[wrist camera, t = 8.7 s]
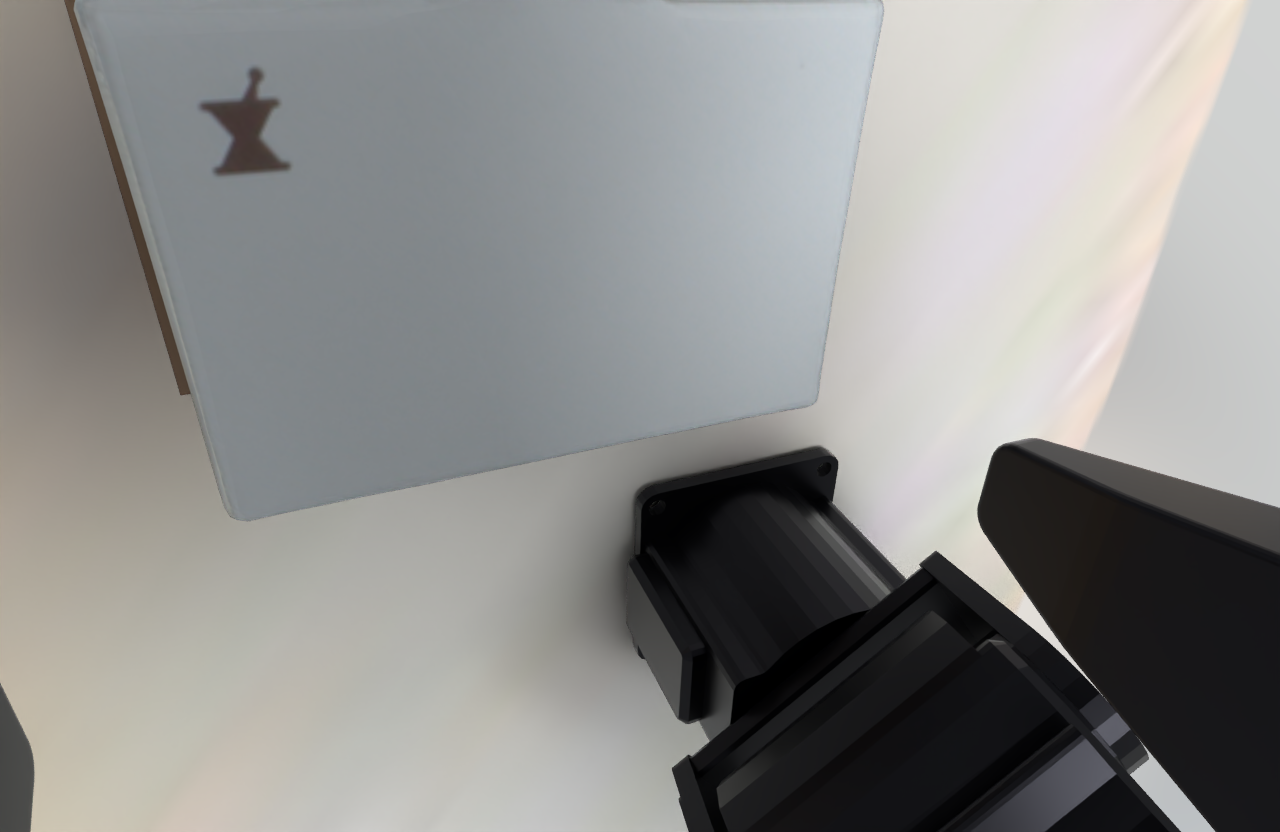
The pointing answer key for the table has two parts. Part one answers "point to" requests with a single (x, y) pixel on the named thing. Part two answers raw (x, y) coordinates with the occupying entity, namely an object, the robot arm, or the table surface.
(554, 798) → the table surface
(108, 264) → the table surface
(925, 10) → the table surface
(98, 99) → the socket block
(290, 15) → the skincare box
